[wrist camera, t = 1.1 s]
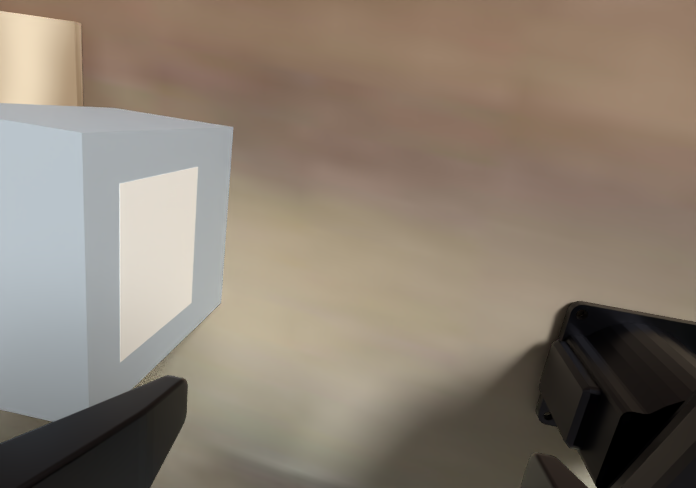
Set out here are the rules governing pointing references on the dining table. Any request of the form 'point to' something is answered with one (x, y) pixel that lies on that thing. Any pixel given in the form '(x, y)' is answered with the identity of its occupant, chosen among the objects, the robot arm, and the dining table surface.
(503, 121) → the dining table surface
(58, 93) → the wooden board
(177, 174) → the light blue rectangular block
